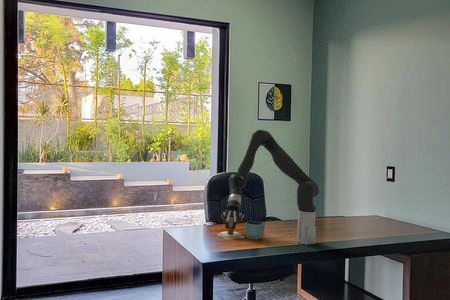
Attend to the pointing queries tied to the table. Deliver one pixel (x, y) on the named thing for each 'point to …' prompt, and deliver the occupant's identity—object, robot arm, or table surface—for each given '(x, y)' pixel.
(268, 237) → the table surface
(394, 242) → the table surface
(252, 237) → the flower pot
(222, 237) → the mat
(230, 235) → the lid
